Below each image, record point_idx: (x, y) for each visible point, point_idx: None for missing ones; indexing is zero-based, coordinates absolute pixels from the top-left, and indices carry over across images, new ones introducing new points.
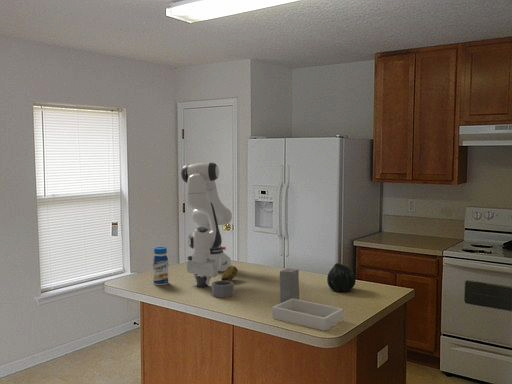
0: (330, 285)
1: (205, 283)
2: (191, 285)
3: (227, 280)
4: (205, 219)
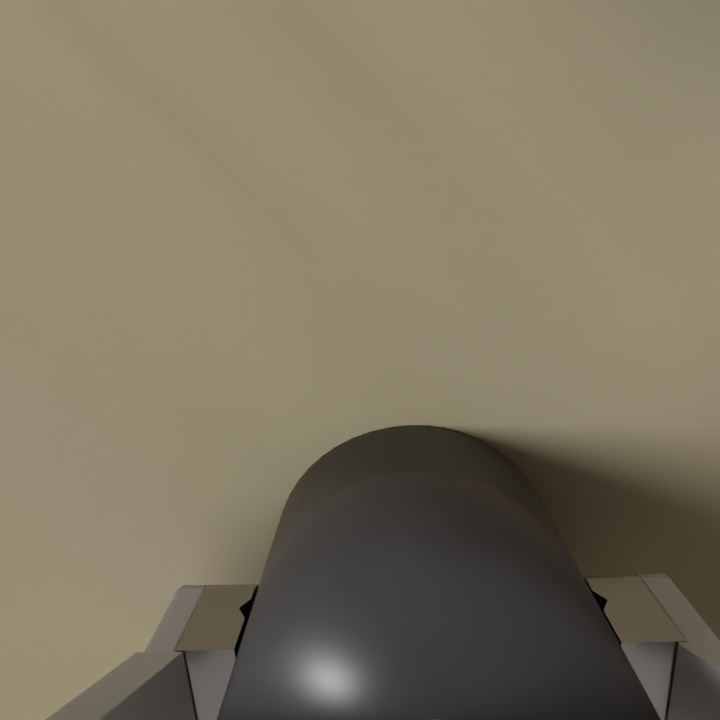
0: None
1: None
2: None
3: None
4: None
